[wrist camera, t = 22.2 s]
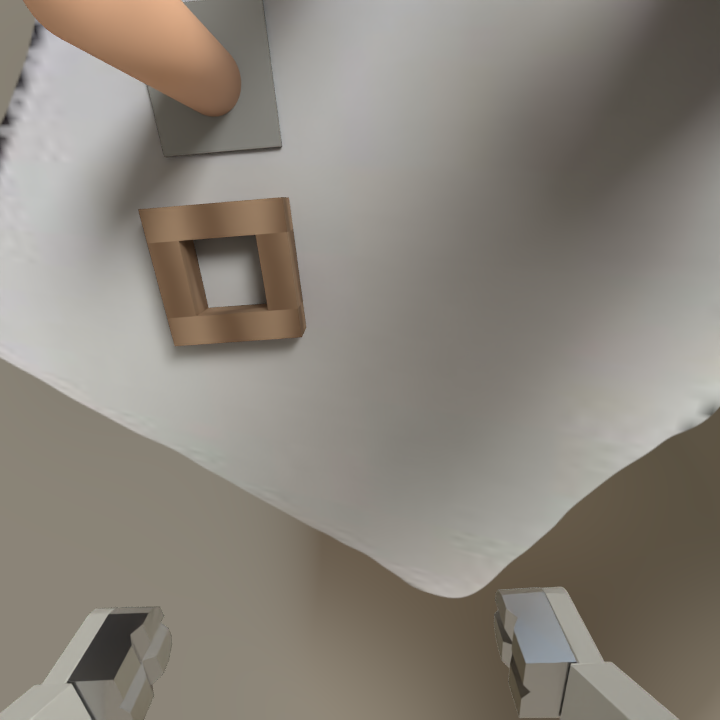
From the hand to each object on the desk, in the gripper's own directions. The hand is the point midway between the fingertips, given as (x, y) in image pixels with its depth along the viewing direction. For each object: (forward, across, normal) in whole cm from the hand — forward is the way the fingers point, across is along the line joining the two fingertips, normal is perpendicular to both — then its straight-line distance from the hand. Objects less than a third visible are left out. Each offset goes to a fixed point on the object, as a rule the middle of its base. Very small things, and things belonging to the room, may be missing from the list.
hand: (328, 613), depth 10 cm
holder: (+31, +11, -4) cm, 33 cm away
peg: (+31, +10, -19) cm, 37 cm away
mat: (+31, +10, -19) cm, 38 cm away
